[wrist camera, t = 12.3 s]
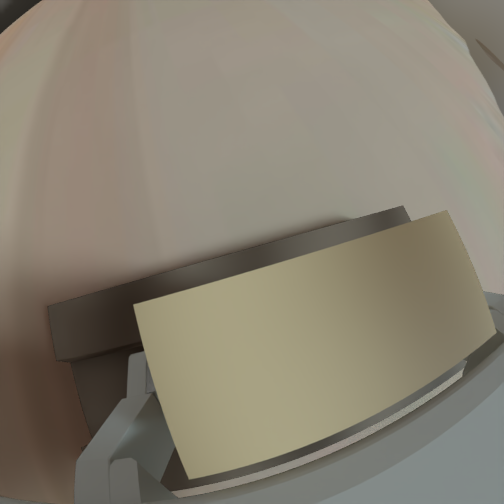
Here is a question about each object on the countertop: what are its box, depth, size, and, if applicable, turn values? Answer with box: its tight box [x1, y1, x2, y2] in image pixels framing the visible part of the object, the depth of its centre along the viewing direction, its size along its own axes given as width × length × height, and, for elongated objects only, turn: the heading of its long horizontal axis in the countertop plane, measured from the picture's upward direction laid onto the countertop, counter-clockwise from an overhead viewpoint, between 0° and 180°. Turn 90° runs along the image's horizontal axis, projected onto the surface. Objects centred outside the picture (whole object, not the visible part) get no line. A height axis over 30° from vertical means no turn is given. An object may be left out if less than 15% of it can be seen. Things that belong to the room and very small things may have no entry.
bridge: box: [48, 206, 466, 491], centre depth 14 cm, size 20×10×3 cm, turn 108°
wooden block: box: [133, 210, 497, 479], centre depth 9 cm, size 6×3×10 cm, turn 108°
